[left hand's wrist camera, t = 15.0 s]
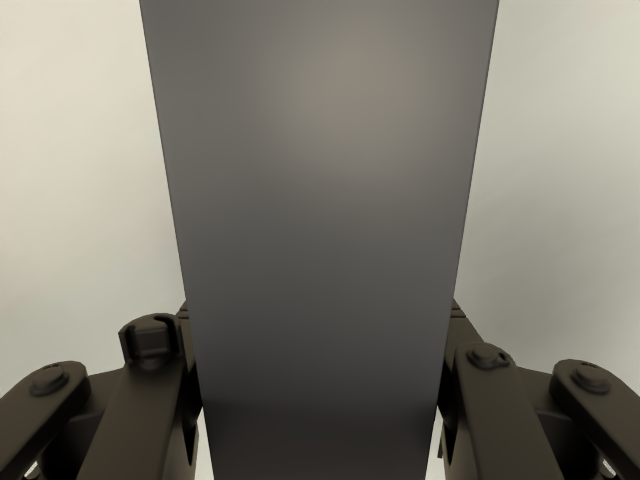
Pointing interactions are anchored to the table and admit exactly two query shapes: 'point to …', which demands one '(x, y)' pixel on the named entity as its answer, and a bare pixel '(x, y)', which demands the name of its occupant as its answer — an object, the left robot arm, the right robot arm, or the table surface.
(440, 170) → the bar
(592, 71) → the table surface
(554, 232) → the table surface
